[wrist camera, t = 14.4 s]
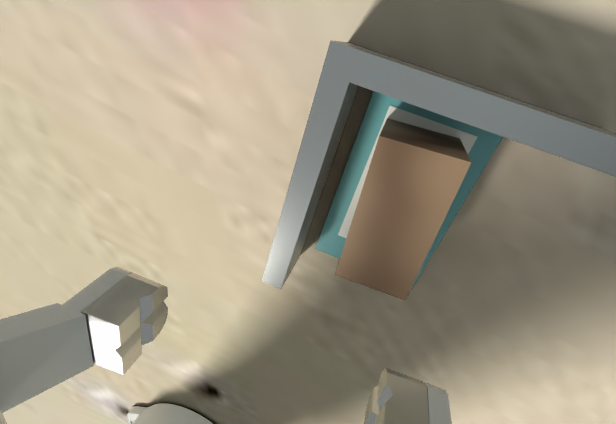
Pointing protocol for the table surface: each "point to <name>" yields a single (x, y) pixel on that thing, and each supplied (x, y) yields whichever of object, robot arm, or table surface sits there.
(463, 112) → the corner bracket
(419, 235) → the walnut block
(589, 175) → the table surface
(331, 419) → the table surface
